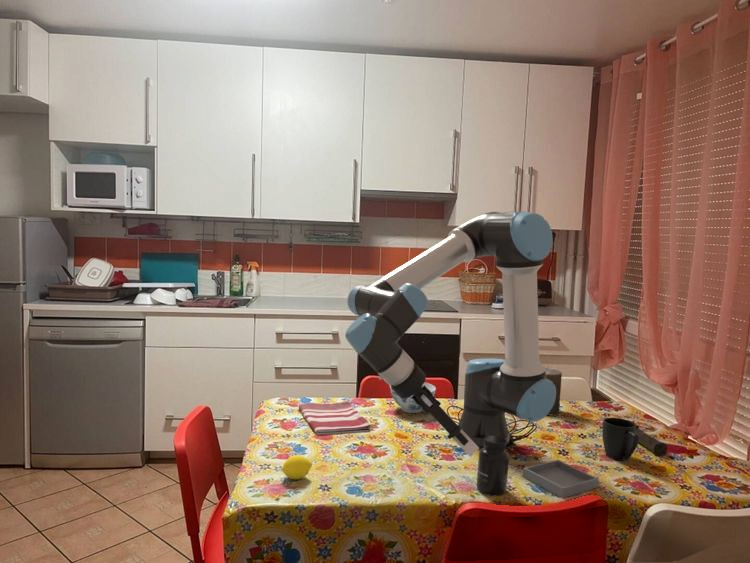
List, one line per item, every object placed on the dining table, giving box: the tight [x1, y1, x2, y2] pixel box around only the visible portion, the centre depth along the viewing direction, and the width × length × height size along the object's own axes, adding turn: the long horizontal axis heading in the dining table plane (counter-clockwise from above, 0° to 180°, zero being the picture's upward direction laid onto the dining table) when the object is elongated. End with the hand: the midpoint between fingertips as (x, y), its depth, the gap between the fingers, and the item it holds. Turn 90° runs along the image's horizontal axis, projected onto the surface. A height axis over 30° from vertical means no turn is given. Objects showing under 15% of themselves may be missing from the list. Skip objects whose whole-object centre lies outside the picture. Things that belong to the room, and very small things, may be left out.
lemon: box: [281, 454, 313, 480], centre depth 132 cm, size 7×5×5 cm
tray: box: [521, 459, 599, 498], centre depth 137 cm, size 12×12×2 cm
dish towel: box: [298, 400, 371, 436], centre depth 174 cm, size 17×23×3 cm
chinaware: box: [389, 381, 437, 414], centre depth 187 cm, size 15×15×8 cm
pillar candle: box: [545, 367, 563, 416], centre depth 193 cm, size 10×10×15 cm
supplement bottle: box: [476, 436, 510, 496], centre depth 131 cm, size 7×7×12 cm
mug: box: [601, 417, 640, 461], centre depth 153 cm, size 8×12×10 cm
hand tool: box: [630, 420, 668, 457], centre depth 166 cm, size 19×4×5 cm, turn 4°
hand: (463, 440), depth 128 cm, fingers open, 13 cm apart
